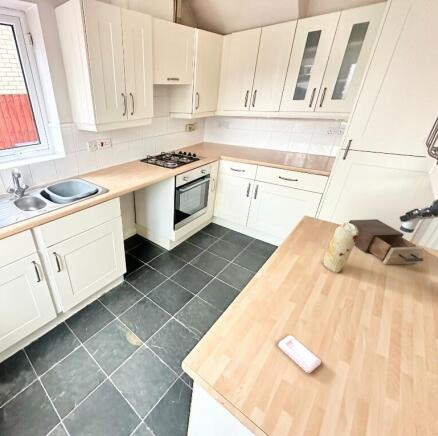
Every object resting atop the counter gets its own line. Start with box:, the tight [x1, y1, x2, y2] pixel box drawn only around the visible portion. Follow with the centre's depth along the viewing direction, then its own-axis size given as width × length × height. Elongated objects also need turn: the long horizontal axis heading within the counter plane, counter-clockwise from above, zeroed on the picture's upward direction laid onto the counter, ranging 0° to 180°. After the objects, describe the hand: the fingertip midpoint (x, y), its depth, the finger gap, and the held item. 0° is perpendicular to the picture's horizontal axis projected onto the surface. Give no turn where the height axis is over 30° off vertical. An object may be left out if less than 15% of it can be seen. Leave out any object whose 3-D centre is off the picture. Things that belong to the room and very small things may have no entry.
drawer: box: [368, 236, 424, 265], centre depth 102 cm, size 17×12×8 cm
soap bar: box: [278, 335, 322, 374], centre depth 67 cm, size 5×9×2 cm, turn 28°
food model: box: [323, 222, 359, 274], centre depth 96 cm, size 10×7×20 cm
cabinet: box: [348, 218, 405, 254], centre depth 112 cm, size 13×13×9 cm
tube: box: [399, 214, 422, 234], centre depth 94 cm, size 4×4×8 cm
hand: (406, 219), depth 95 cm, fingers closed on tube, 3 cm apart
